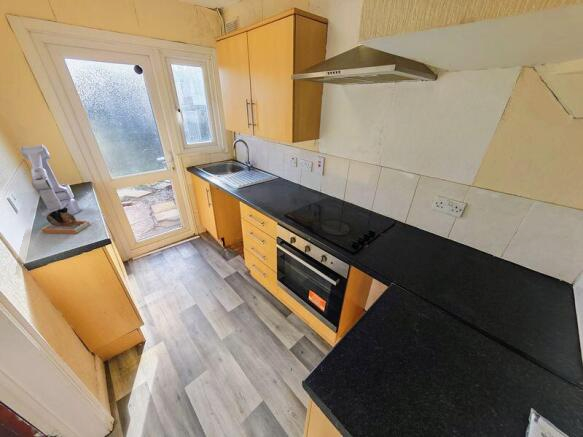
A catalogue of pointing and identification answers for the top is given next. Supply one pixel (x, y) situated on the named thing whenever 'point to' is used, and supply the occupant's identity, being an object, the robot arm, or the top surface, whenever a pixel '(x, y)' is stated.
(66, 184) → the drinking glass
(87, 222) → the wooden frame
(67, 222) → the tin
